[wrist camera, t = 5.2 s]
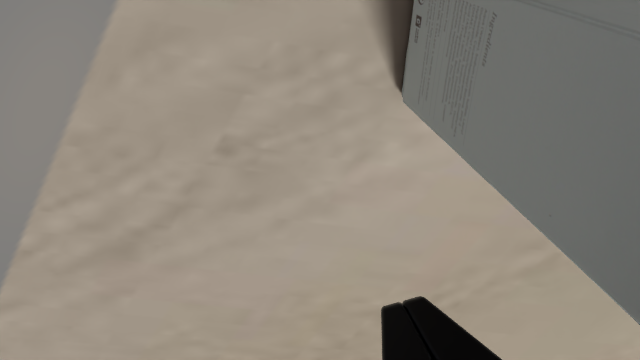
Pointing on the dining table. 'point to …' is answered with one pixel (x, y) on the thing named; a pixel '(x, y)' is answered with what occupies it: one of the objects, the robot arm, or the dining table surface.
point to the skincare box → (543, 117)
